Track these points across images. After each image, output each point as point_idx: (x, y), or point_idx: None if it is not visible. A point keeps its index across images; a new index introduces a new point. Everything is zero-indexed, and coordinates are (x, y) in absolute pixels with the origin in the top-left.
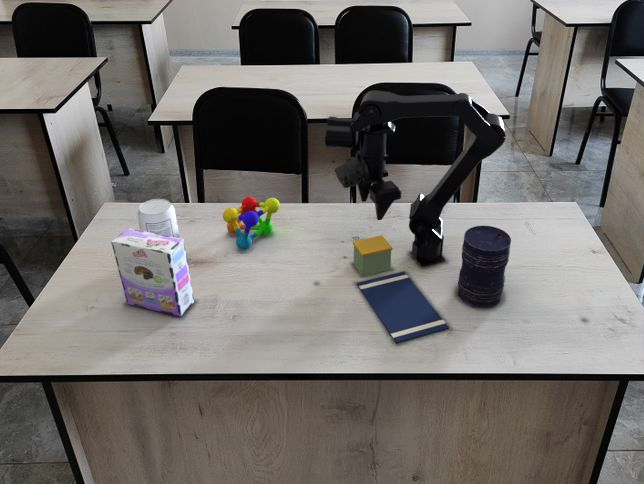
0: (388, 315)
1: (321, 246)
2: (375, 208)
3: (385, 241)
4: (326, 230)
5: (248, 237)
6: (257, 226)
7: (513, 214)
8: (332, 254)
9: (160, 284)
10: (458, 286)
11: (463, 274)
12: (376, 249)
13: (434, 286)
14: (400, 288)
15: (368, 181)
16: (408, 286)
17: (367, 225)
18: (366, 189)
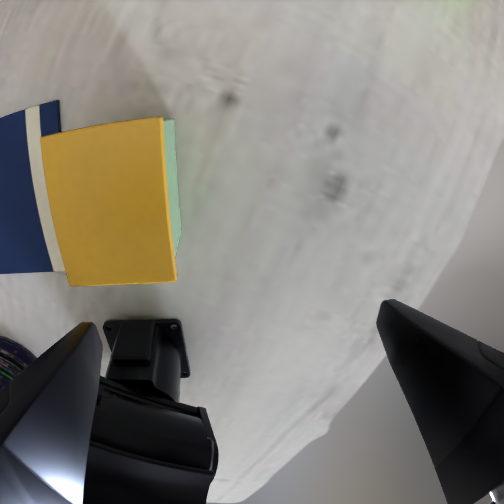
0: None
1: (333, 50)
2: (39, 388)
3: (117, 276)
4: (414, 115)
5: None
6: None
7: (257, 476)
8: (266, 63)
9: None
10: (5, 353)
11: None
12: (62, 216)
13: (29, 312)
14: (12, 230)
15: (450, 449)
16: (19, 254)
17: (380, 252)
18: (423, 391)
